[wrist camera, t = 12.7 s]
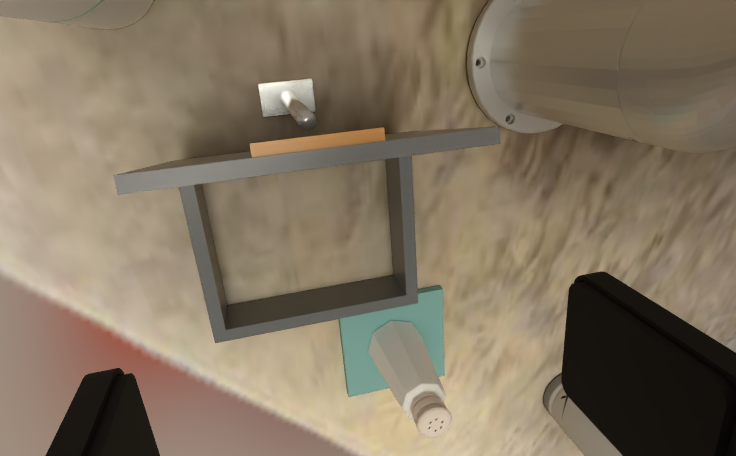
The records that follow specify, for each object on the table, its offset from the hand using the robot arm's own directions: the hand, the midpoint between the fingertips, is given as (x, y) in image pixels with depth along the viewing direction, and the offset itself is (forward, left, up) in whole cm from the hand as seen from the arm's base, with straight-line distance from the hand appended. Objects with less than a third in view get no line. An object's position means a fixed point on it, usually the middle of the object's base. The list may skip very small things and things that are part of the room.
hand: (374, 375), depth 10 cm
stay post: (-1, -3, -30) cm, 30 cm away
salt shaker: (-8, +21, -30) cm, 37 cm away
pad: (-8, +21, -30) cm, 38 cm away
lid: (-1, 0, -19) cm, 19 cm away
